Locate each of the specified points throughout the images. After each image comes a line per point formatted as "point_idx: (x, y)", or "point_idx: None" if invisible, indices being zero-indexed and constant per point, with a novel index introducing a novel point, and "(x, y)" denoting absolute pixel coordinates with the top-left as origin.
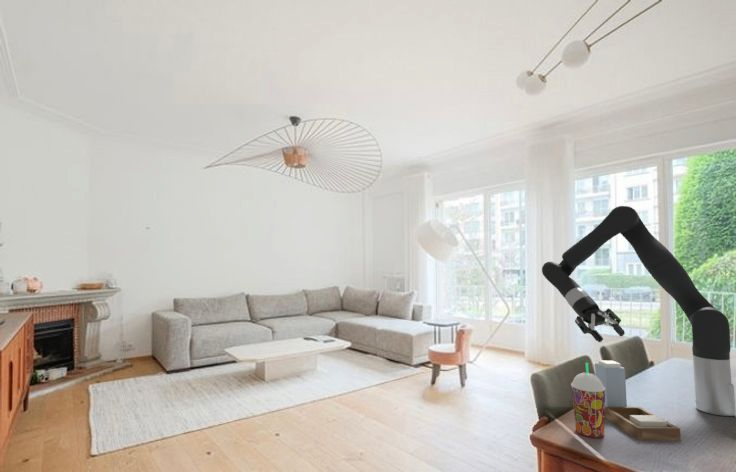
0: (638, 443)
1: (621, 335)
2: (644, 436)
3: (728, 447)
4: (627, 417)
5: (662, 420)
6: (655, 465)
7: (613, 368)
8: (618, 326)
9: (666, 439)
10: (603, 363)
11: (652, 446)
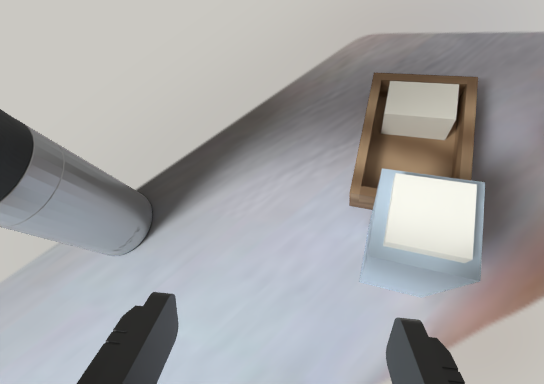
0: None
1: (176, 319)
2: None
3: (295, 81)
4: None
5: (394, 86)
6: (502, 32)
7: (439, 177)
8: (120, 357)
9: None
10: (473, 212)
11: None
